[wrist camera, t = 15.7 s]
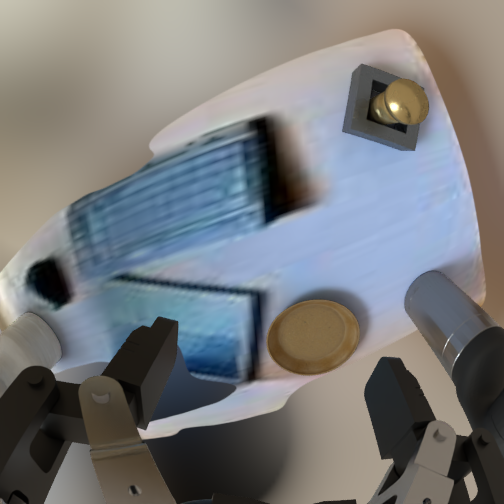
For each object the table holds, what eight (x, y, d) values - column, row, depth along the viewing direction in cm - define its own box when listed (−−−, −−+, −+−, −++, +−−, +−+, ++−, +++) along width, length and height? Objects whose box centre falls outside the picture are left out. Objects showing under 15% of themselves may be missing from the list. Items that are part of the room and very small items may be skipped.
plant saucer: (248, 335, 46) (246, 345, 43) (312, 273, 42) (314, 280, 39) (311, 377, 48) (312, 387, 46) (373, 325, 44) (377, 334, 41)
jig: (409, 93, 31) (424, 88, 27) (400, 150, 34) (415, 150, 30) (352, 72, 32) (361, 63, 27) (342, 131, 34) (350, 128, 30)
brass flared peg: (392, 102, 32) (430, 89, 22) (387, 134, 34) (425, 131, 24) (360, 91, 32) (390, 71, 22) (354, 124, 34) (384, 115, 24)
